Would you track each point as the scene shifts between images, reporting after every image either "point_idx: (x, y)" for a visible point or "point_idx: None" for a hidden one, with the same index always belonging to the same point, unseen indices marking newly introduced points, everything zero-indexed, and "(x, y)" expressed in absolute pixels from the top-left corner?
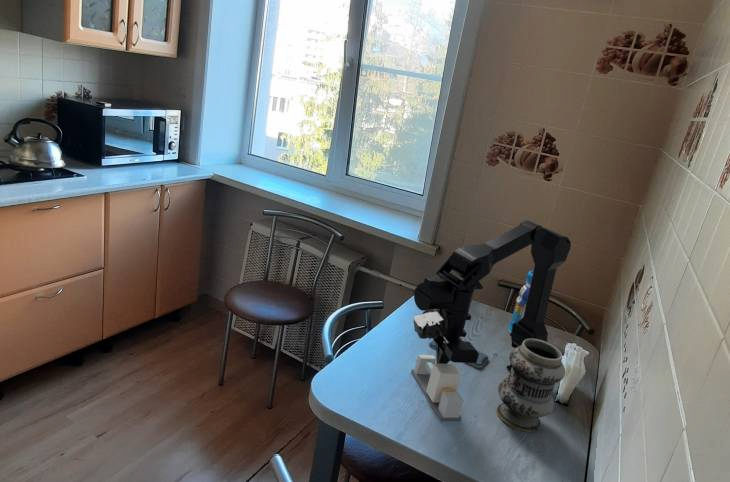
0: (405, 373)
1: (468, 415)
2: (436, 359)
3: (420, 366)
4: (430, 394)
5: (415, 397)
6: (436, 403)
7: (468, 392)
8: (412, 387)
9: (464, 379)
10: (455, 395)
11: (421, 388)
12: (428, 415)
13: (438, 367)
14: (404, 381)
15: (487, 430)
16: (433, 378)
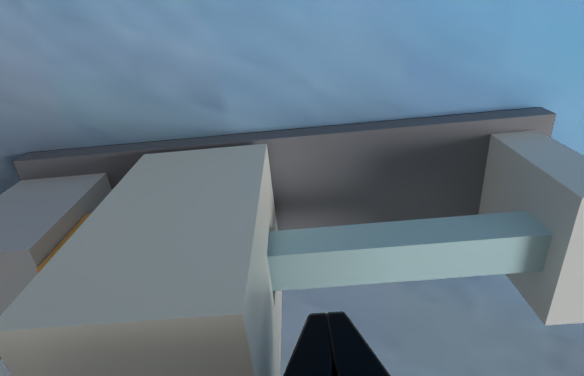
0: (534, 57)
1: None
2: (376, 362)
3: (522, 175)
4: (193, 158)
5: (240, 57)
6: None
7: None
8: (358, 66)
9: (433, 372)
10: None
11: (336, 127)
12: (58, 96)
13: (145, 345)
14: (433, 20)
15: None
16: (177, 223)
